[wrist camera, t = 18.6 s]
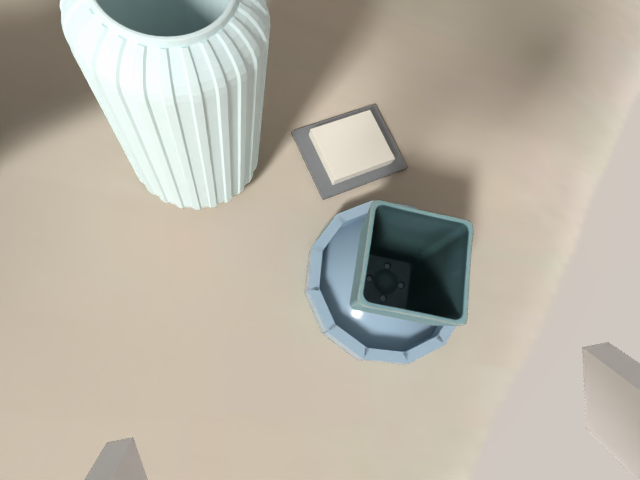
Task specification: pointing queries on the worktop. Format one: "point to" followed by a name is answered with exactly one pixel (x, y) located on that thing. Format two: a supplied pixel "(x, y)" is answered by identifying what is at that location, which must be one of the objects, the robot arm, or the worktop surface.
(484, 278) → the worktop surface
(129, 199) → the worktop surface
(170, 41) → the vase
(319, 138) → the mat with cloth
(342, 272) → the dish
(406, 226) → the flower pot
